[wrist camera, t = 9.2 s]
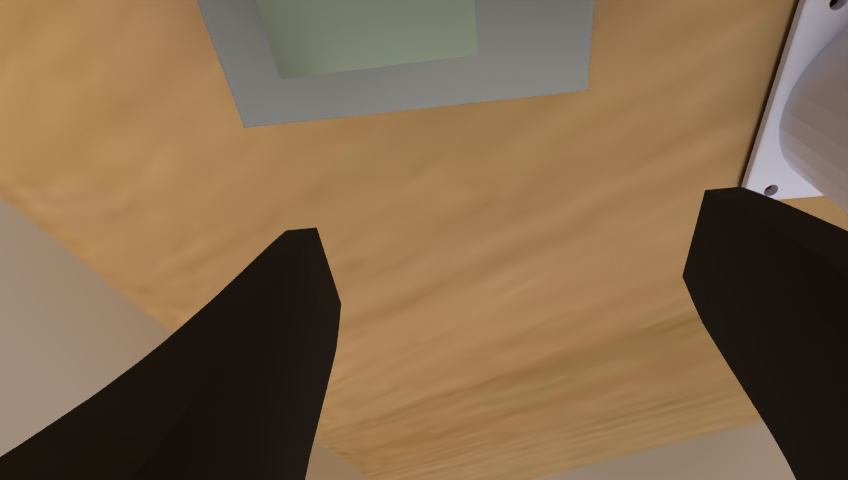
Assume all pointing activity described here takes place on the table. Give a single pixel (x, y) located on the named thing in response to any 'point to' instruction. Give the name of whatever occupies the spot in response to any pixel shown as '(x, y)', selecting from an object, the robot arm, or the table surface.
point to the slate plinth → (409, 64)
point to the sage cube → (365, 33)
